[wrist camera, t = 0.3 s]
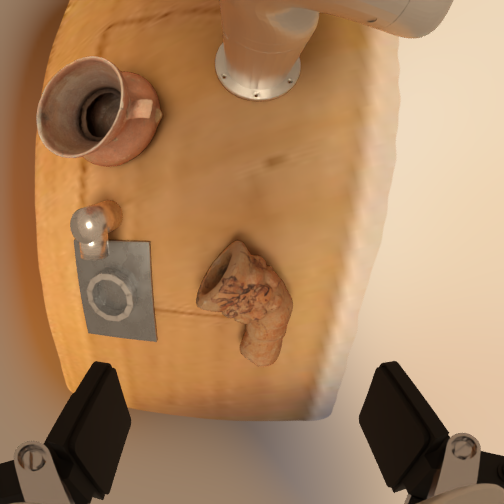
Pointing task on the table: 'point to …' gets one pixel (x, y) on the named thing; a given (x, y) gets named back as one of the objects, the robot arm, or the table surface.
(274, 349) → the clay pipe
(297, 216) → the table surface
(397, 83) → the table surface
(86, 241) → the grey rounded piece
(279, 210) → the table surface
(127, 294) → the flange
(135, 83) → the ceramic jug
